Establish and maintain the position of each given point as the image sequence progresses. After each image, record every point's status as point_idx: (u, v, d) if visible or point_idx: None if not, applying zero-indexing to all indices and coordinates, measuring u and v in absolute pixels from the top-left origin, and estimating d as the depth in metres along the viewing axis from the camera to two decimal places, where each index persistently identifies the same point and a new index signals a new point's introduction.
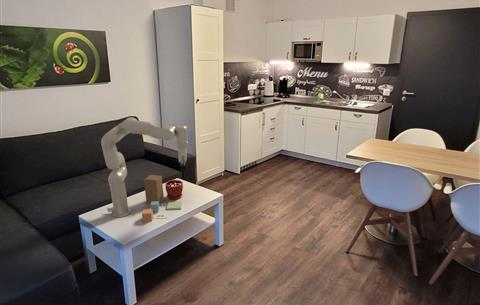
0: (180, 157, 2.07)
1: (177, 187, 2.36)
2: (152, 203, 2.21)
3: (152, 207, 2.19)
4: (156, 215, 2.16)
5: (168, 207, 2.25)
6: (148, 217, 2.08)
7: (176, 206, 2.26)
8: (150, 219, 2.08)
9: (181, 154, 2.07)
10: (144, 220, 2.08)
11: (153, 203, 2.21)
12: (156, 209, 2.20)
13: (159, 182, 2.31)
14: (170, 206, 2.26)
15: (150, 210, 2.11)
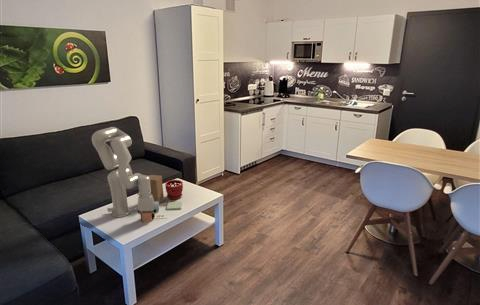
0: (153, 205, 2.07)
1: (177, 187, 2.36)
2: None
3: None
4: (156, 215, 2.16)
5: (168, 207, 2.25)
6: (148, 217, 2.08)
7: (176, 206, 2.26)
8: (150, 219, 2.08)
9: (153, 201, 2.07)
10: (144, 220, 2.08)
11: None
12: None
13: (159, 182, 2.31)
14: (170, 206, 2.26)
15: None
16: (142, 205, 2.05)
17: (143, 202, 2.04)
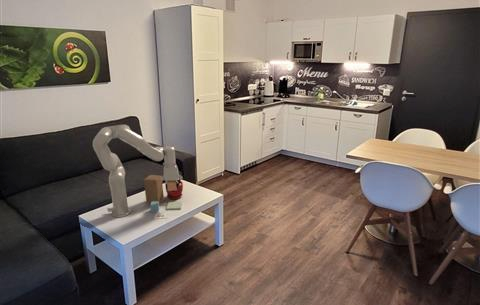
0: (178, 174, 2.20)
1: None
2: (152, 203, 2.21)
3: (152, 207, 2.19)
4: (156, 215, 2.16)
5: (168, 207, 2.25)
6: (173, 186, 2.21)
7: (176, 206, 2.26)
8: (175, 188, 2.21)
9: None
10: (169, 189, 2.21)
11: (153, 203, 2.21)
12: (156, 209, 2.20)
13: (159, 182, 2.31)
14: (170, 206, 2.26)
15: (174, 180, 2.24)
16: (167, 174, 2.18)
17: (168, 171, 2.17)
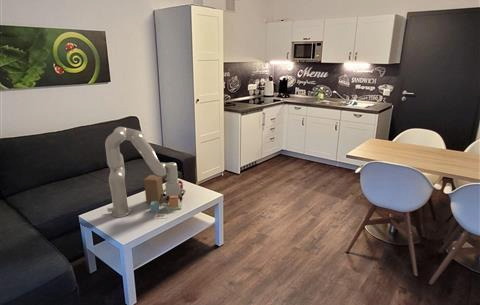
0: (180, 189, 2.24)
1: None
2: (152, 203, 2.21)
3: (152, 207, 2.19)
4: (156, 215, 2.16)
5: (168, 207, 2.25)
6: (175, 203, 2.25)
7: None
8: (176, 204, 2.26)
9: (179, 186, 2.25)
10: (171, 205, 2.25)
11: (153, 203, 2.21)
12: (156, 209, 2.20)
13: (159, 182, 2.31)
14: None
15: (176, 196, 2.28)
16: (169, 190, 2.22)
17: (170, 187, 2.21)
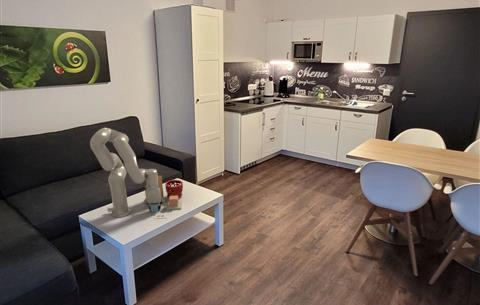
0: (160, 197, 2.19)
1: (177, 187, 2.36)
2: (152, 203, 2.21)
3: (152, 207, 2.19)
4: (156, 215, 2.16)
5: (168, 207, 2.25)
6: (175, 203, 2.25)
7: None
8: (176, 204, 2.26)
9: (160, 193, 2.19)
10: (171, 205, 2.25)
11: (153, 203, 2.21)
12: (156, 209, 2.20)
13: (159, 182, 2.31)
14: None
15: (176, 196, 2.28)
16: (150, 197, 2.17)
17: (151, 194, 2.16)
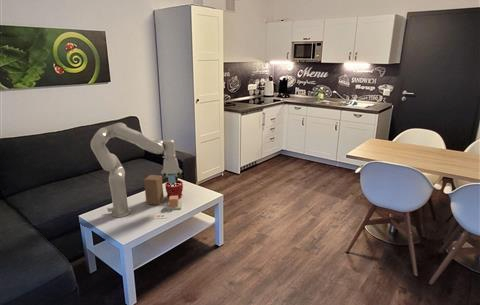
0: (178, 167, 2.19)
1: (177, 187, 2.36)
2: (169, 174, 2.21)
3: (169, 178, 2.20)
4: (156, 215, 2.16)
5: (168, 207, 2.25)
6: (175, 203, 2.25)
7: None
8: (176, 204, 2.26)
9: None
10: (171, 205, 2.25)
11: (170, 174, 2.21)
12: (173, 180, 2.20)
13: (159, 182, 2.31)
14: None
15: (176, 196, 2.28)
16: (167, 167, 2.17)
17: (168, 164, 2.16)
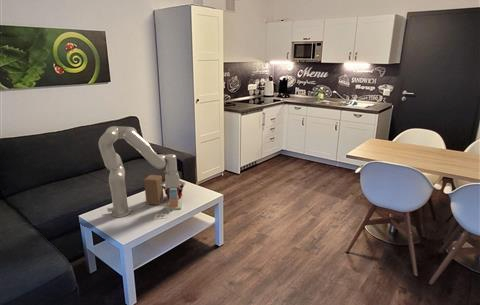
0: (179, 182, 2.23)
1: None
2: (171, 190, 2.25)
3: (171, 193, 2.23)
4: (156, 215, 2.16)
5: (168, 207, 2.25)
6: (175, 203, 2.25)
7: None
8: (176, 204, 2.26)
9: (179, 179, 2.23)
10: (171, 205, 2.25)
11: (172, 190, 2.25)
12: (175, 196, 2.24)
13: (159, 182, 2.31)
14: None
15: None
16: (169, 182, 2.20)
17: (170, 179, 2.20)
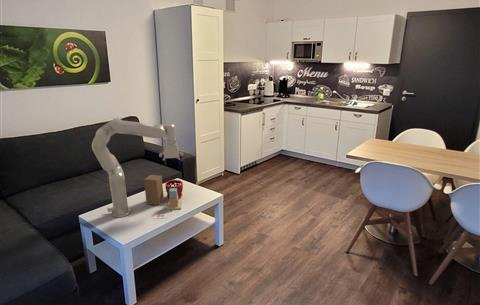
0: (178, 152, 2.21)
1: (177, 187, 2.36)
2: (171, 190, 2.25)
3: (171, 193, 2.23)
4: (156, 215, 2.16)
5: (168, 207, 2.25)
6: (175, 203, 2.25)
7: None
8: (176, 204, 2.26)
9: None
10: (171, 205, 2.25)
11: (172, 190, 2.25)
12: (175, 196, 2.24)
13: (159, 182, 2.31)
14: None
15: None
16: (167, 152, 2.19)
17: (168, 149, 2.18)
